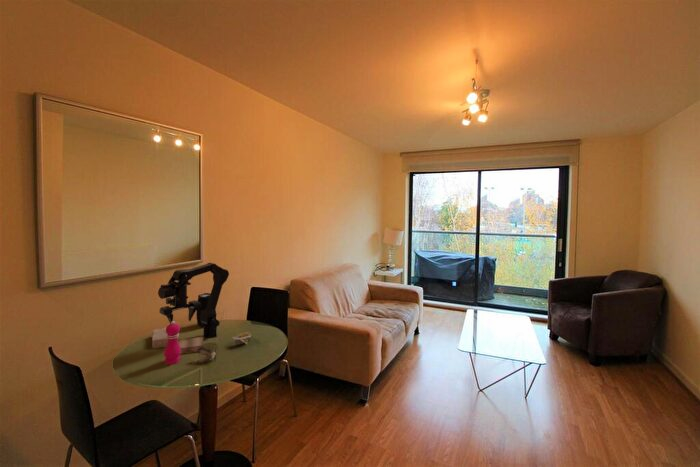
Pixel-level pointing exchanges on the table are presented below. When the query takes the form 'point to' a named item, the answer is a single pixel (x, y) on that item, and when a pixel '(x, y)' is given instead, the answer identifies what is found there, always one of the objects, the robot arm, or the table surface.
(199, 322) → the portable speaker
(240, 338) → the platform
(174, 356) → the pepper mill
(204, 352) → the eagle figurine
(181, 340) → the plinth
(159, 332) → the brick
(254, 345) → the table surface
